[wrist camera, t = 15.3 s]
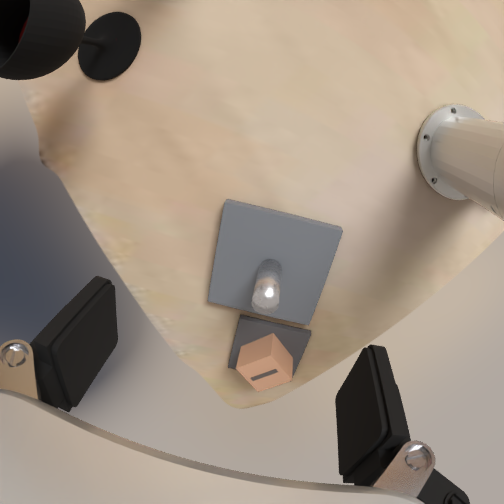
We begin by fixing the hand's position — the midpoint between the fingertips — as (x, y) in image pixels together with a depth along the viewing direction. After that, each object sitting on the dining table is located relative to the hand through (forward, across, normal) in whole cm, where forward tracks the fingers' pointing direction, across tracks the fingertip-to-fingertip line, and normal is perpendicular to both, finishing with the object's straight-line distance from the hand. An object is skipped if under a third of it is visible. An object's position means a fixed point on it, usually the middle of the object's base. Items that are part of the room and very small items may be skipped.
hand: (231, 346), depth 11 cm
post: (+29, -2, +12) cm, 31 cm away
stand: (+30, -2, +12) cm, 33 cm away
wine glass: (+31, +26, -14) cm, 42 cm away
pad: (+30, -5, +27) cm, 41 cm away
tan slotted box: (+29, -5, +27) cm, 40 cm away
